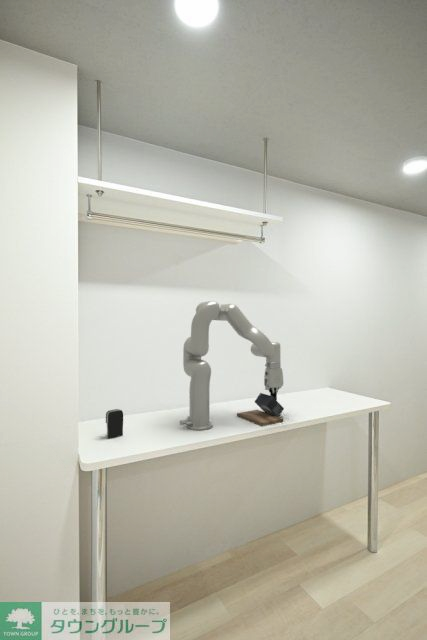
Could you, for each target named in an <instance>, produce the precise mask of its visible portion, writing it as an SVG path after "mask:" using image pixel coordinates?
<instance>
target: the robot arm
mask: <svg viewBox="0 0 427 640" xmlns="http://www.w3.org/2000/svg"><path fill="white" fill-rule="evenodd" d="M212 321H220V322H221V321H222V322H223V321H225V322H226V321H227V323H229V325H230V326H231V327H232V329H233V331H235V333H236V334H237V335H238V336H240V337H241V338H243V339H245V340H247V341H249V342H251V343H252V344H251V346H250V352H251V354H252V355H253V356H255V357H261V358H265V360H266V361H265V365H264V366H265V369H264V377H263V378H264V380H263V383H264V384H263V385H264V390H266V391H268V392H269V394H270V396H273V397H274V398H275V400H276V401H278V395H277V394H278V392H279V390H280V389H282V387H283V386H284V374H283V368H282V367H281V362H282V361H281V343H280V342H278V341H271V340H270V339H269V337H267V336H266V334H264V332H262V331H261V330H260V329H258V328H257V327H256V326H255V325H253V323H251V322H250V321H249V319H248V318H247V317H246V315H245V314H244V313H243V312H242V310H241V309H240V308H239V306H237V305H236V304H234V303H227V304H225V303H224V304H220V303H219V302H217V301H215V300H210V301H204V302H201V303H199V304H198V305H197V306H196V308H195V314H194V316H193V318H192V320H191V326H190V336H189V337H188V338H186V340H185V342H184V344H183V349H182V350H183V352H182V353H183V359H182V361H183V362H182V363H183V371H184V373H185V375H186V376H188V377H190V382H189V389H188V390H189V416H187V418H186V419H183V420H181V419H180V421H179V424H180V425H181V426H182V425H185V426H186V428H187V429H189V430H192V431H205V430H210V429H211V428H213V425H214V424H213V422H212V421H210V386H211V376H212V368H211V365H210V363H208V362H207V361H206V360H204V359H202V357H204V356H206V355H207V354H208V353H209V350H210V349H209V347H210V345H209V344H210V343H209V341H210V340H209V339H210V335H209V334H210V325H211V323H212Z"/></svg>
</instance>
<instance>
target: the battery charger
mask: <svg viewBox="0 0 427 640" xmlns="http://www.w3.org/2000/svg"><path fill="white" fill-rule="evenodd" d="M105 424H106V438H107V439H114V438H118V437H121V435H122V436H123V435H124V431H123V430H124V411H123V410H122V409H119V408H117V409H111V410H108V411H106V413H105ZM117 436H118V437H117ZM113 437H114V438H113Z"/></svg>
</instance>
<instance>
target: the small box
mask: <svg viewBox="0 0 427 640" xmlns="http://www.w3.org/2000/svg"><path fill="white" fill-rule="evenodd" d="M254 403H255V404H256V405H257V406H258V407H259V409H260V410H261V411H263V412H266V413H269V414H271V415H274V416H277V417H280V415H281V414H282V413H283V411H284V409H285V408H284V407H283V406H282V405H281V404H280V402H278V400H275V398H274V397H273V396H270V395H269V394H265V393H262V392H260V393H259V395H258V396H257V397H256V399H255V400H254Z"/></svg>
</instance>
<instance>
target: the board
mask: <svg viewBox="0 0 427 640" xmlns="http://www.w3.org/2000/svg"><path fill="white" fill-rule="evenodd" d="M236 417H238V418H241V419H243V420H246V421H248V422H250V423H253V424H255V425H258V426H260V427H264V426H265V427H266V426H270V425H274V424H279V423H284V418H282V417H280V416H279V417H277V416H274V415H271V414H269V413H266V412H264V411H263V410H261V409H260V410H259V409H253V410H248V411H243V412H238V413H236Z"/></svg>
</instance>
